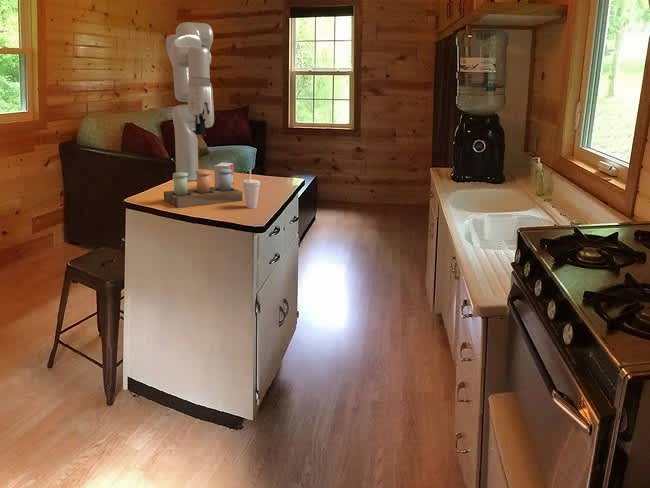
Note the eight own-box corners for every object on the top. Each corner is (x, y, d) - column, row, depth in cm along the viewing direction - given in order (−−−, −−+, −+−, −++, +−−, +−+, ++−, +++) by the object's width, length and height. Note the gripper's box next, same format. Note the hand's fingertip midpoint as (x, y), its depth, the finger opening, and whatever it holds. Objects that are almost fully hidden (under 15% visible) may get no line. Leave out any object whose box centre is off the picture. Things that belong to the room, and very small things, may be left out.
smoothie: (244, 204, 232) (244, 167, 228) (261, 205, 232) (261, 168, 228) (241, 208, 226) (241, 170, 222) (259, 209, 226) (259, 171, 222)
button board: (164, 200, 233) (163, 191, 232) (226, 193, 248) (226, 185, 247) (178, 208, 223) (178, 198, 222) (242, 200, 238) (242, 191, 237)
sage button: (171, 193, 230) (170, 172, 228) (184, 192, 233) (184, 171, 231) (177, 196, 226) (176, 175, 223) (191, 195, 229) (190, 174, 227)
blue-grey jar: (215, 189, 240) (215, 169, 238) (227, 188, 243) (227, 168, 241) (221, 192, 236) (221, 171, 234) (234, 190, 239) (234, 170, 237)
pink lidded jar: (193, 191, 235) (193, 171, 233) (206, 190, 238) (206, 170, 236) (200, 194, 231) (199, 173, 229) (213, 193, 234) (213, 172, 232)
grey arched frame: (227, 192, 251) (227, 166, 248) (214, 191, 252) (214, 165, 249) (234, 188, 259) (234, 163, 256) (221, 187, 260) (221, 162, 257)
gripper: (181, 82, 228) (182, 132, 233) (198, 83, 216) (199, 136, 221) (199, 82, 232) (201, 132, 237) (218, 83, 221) (218, 136, 225)
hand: (200, 134), depth 229 cm, fingers closed
